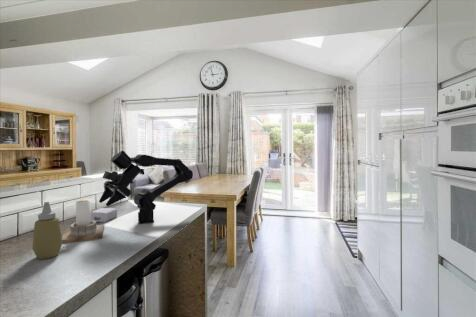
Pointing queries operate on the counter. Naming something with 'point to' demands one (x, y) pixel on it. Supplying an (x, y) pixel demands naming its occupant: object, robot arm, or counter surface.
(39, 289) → the counter surface
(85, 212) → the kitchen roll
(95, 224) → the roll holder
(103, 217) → the charger
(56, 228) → the squeeze bottle
